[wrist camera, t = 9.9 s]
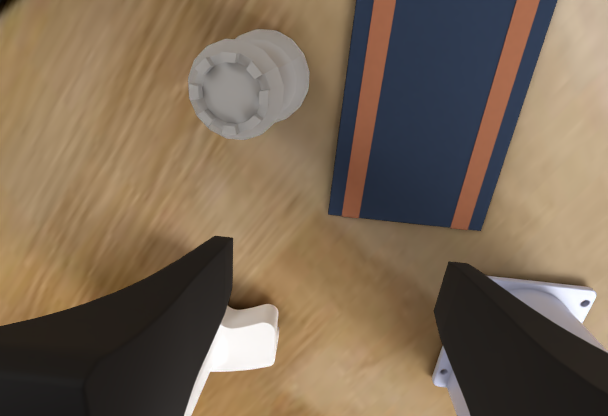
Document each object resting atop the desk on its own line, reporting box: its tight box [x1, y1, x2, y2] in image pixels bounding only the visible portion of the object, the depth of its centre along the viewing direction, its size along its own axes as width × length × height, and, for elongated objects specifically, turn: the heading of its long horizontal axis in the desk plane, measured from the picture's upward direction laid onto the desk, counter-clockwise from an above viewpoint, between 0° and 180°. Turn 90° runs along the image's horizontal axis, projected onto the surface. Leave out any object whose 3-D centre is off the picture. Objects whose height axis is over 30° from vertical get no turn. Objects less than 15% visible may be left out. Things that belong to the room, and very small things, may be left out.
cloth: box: [328, 0, 557, 231], centre depth 18 cm, size 15×9×1 cm, turn 175°
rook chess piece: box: [188, 29, 310, 140], centre depth 15 cm, size 4×4×8 cm
